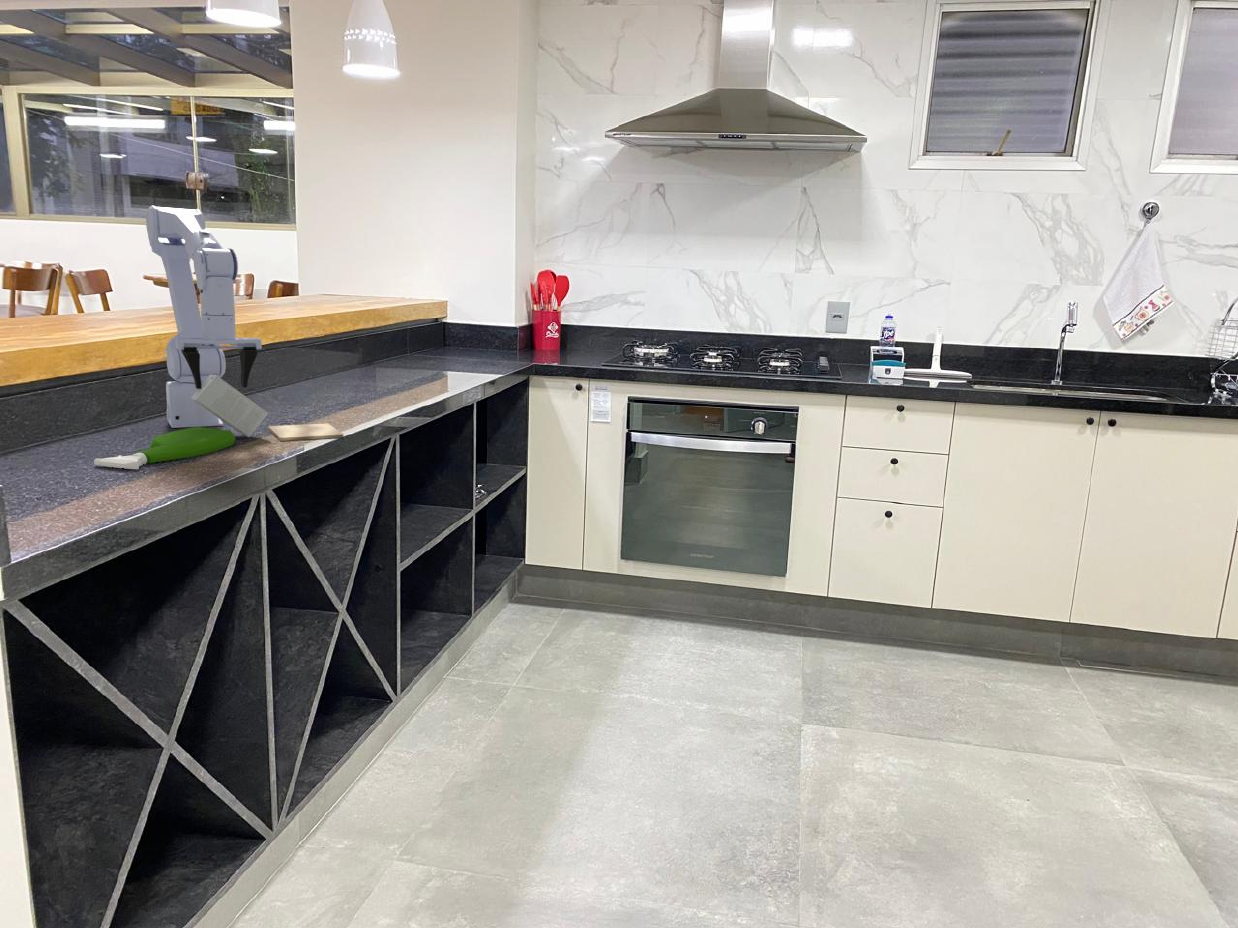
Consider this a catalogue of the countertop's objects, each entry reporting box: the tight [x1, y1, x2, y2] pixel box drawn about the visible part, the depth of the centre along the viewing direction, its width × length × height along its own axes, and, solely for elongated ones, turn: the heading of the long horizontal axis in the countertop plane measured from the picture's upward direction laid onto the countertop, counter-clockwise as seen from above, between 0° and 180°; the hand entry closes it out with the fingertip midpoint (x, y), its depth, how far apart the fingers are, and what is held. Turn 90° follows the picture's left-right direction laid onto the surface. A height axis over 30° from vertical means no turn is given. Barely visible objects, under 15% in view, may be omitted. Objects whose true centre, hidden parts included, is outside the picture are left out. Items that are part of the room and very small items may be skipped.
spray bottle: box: [93, 426, 236, 470], centre depth 154 cm, size 3×11×24 cm
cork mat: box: [267, 423, 344, 442], centre depth 177 cm, size 12×12×1 cm
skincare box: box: [191, 374, 269, 438], centre depth 168 cm, size 6×4×12 cm
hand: (221, 387), depth 167 cm, fingers open, 7 cm apart
